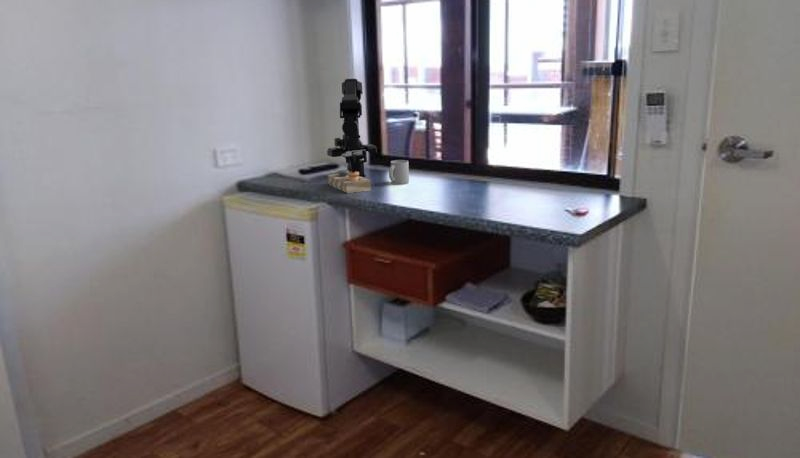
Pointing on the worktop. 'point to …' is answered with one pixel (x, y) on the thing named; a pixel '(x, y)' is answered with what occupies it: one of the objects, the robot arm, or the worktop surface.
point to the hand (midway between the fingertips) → (353, 172)
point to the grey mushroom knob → (343, 173)
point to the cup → (399, 172)
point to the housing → (349, 183)
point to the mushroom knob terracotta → (353, 176)
